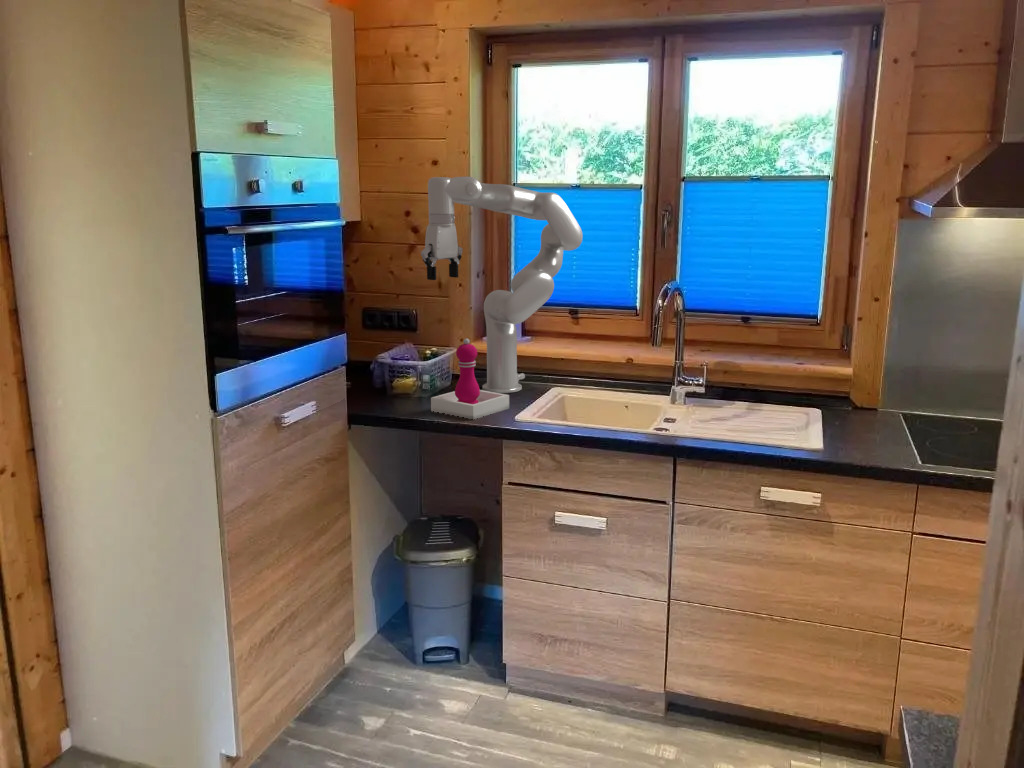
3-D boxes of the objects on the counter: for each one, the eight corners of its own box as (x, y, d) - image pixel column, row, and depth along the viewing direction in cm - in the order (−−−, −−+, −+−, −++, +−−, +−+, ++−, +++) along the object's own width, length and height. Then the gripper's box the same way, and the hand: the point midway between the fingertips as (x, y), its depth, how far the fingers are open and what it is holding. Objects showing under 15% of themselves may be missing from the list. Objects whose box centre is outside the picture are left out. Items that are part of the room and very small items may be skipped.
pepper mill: (479, 410, 237) (478, 340, 232) (454, 410, 237) (452, 340, 232) (480, 403, 244) (479, 336, 239) (456, 403, 244) (454, 336, 239)
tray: (467, 400, 252) (467, 387, 251) (509, 408, 243) (509, 395, 242) (431, 411, 240) (430, 397, 239) (473, 420, 230) (473, 405, 229)
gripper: (451, 219, 255) (452, 275, 258) (411, 220, 241) (413, 280, 245) (470, 219, 250) (471, 277, 254) (430, 221, 237) (432, 281, 241)
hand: (442, 278), depth 250 cm, fingers open, 9 cm apart
